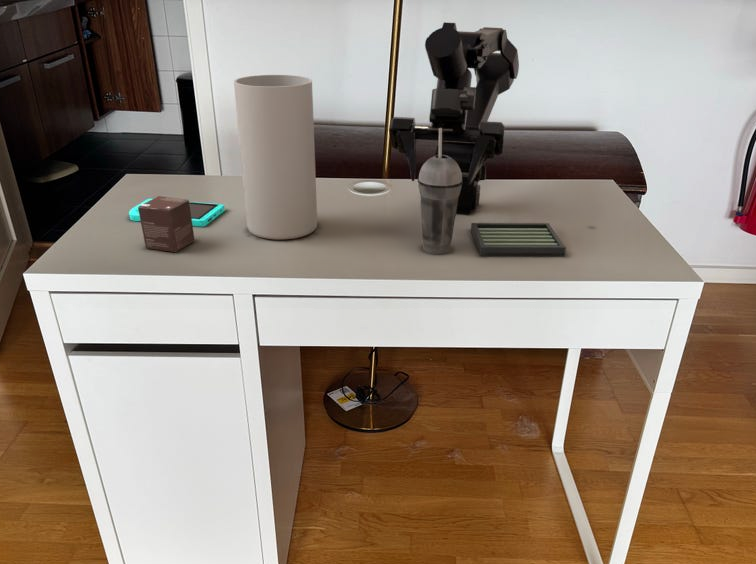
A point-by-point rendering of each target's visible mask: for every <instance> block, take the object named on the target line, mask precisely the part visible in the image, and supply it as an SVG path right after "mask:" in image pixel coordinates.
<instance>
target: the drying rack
mask: <svg viewBox="0 0 756 564" xmlns="http://www.w3.org/2000/svg"><path fill="white" fill-rule="evenodd" d="M470 225H471V226H470V232H471V235H472V237H473V240H474V243H475V245H476V248H477V250H478V253H479V256H480V257H565V255H566V249H567V247H566V245H565V243H563V240H561V239H560V237H559V235H558V233H556V231H555V230H554V228H553V226H552V225H551V224H550V223H549V222H471V224H470Z"/></svg>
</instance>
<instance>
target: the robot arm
mask: <svg viewBox="0 0 756 564" xmlns="http://www.w3.org/2000/svg"><path fill="white" fill-rule="evenodd" d="M424 48H425V52H426V55H427V58H428V61H429V65H430V68H431V71H432V74H433V76H434V77H435V78H437V80H436V81H437V82H436V88H432V89H431V100H430V109H429V110H430V111H429V117H428V119H429V120H428V121H429V123H431V124H430V126H419V125H416V117H407V116H406V117H404V116H394V117H393V118H392V119H391V120H390V121H389V127H388V132H389V137H390V143H391V147H392V148H393V149H395V150H398V152H399V153H400V154H404V155H405V157H406V160H407V164H408V167H409V173H410V178H411V181H412V182H415V180H416V176H417V175H416V173H417V147H416V146H417V140H423V141H437V142H439V128H442V155H446V156H449V157H451V158H452V159H454V160H455V161H456V162H457V164H458V165H459V167H460V170H461V173H462V180H463V184H462V186H461V191H460V195H459V196H458V203H457V209H456V214H462V215H463V214H464V215H470V214H472V213H473V212H474V211H475V210H476V209H477V208H478V207H479V205H480V198H481V197H480V196H481V185H480V184H479V182H481V181H486V179H487V160H489V159H494V158H495V156H500V155H502V154H503V151H504V140H505V139H504V138H505V128H506V126H505V124H504V123H503V122H502V121H489V118H490V116H491V113H492V112H493V110H494V106H495V104H496V102H497V99H498V98H499V95H501V94H503V93H505V92H507V91H508V90H510V89H511V87H512V85H513V83H514V81H515V80H517V78H518V75H519V70H520V61H519V54H518V49H517V47H516V46H515V45H514V44H513V43H512V42H511V41H510V40H509V38H508V33H507V30H506V29H504V28H503V27H491V26H490V27H489V26H488V27H487V26H485V27H482V28H479V30H476V31H463V30H458V29H457V24H456V22H445V21H444V22H443V23H442V25H441V27H440V28H437V29H436V30H434V31H432V32H431V33H430V34H429V35H428V37H426V39H425V42H424ZM470 69H472V70H474V75H475V79H476V80H475V81H476V84H475V85H476V86H472V79H473V78H472V77H473V74H472V72H471V70H470ZM434 153H435V154H434V156H436V155H439V144H437V145H436V148H435V152H434Z"/></svg>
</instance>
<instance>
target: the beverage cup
mask: <svg viewBox="0 0 756 564" xmlns="http://www.w3.org/2000/svg"><path fill="white" fill-rule="evenodd" d="M438 145H439V155H436V156H435V155H434V156H431V157H430V158H427V160H426V161H425V162H424V163H423V164H422V166H421V168H420V170H419V173H418V178H417V183H418V192H419V196H420V219H421V240H422V250H423V251H424V252H425V253H428V254H432V255H443V254H446V253H448V252H450V251H451V246H452V242H453V241H452V240H453V235H454V228H455V222H456V216H457V213H456V209H457V203H458V196H459V195H460V191H461V186H462V184H463V180H462V173H461V170H460V167H459V165H458V164H457V162H456V161H455V160H454V159H452V158H451V157H449V156H446V155H442V128H439V141H438Z"/></svg>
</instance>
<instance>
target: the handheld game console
mask: <svg viewBox="0 0 756 564" xmlns="http://www.w3.org/2000/svg"><path fill="white" fill-rule="evenodd" d="M152 199H153V198H147V199H145V200H143V201H142V202H141V203H139V204H137V205H135V206H134V207H132V208H131V209H130V210H129V212H128V215H129V216H128V217H129V219H130V220H131V221H133V222H141V220H140V215H139V210H138V207H139V206H140V205H142V204H144V203H146V202H148V201H150V200H152ZM189 206H190V212H191V219H192V225H193V227H199V228H200V227H201V228H203V227H206V226H208V225H209V224H210V223H211V222H213V221H214V220H215V219H216V218H218V217H219V216H221V215H222V214H223V213H224V212H225V211H226V208H225V204H224V203H223V204H222V203H212V202H211V203H208V202H198V201H189Z"/></svg>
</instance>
